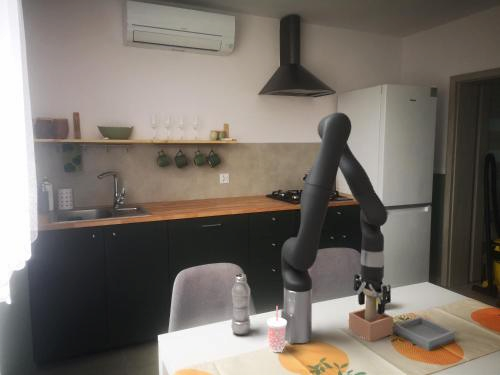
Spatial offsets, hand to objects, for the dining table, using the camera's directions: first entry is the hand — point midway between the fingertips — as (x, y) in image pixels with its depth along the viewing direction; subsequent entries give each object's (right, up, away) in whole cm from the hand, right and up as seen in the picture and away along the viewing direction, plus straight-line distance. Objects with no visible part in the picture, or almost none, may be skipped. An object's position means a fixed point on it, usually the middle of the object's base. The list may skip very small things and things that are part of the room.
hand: (370, 309), depth 126 cm
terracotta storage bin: (0, -8, +1) cm, 8 cm away
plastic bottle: (-44, -9, +1) cm, 45 cm away
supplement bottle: (+9, -6, +20) cm, 23 cm away
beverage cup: (-33, -10, -10) cm, 36 cm away
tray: (+17, -8, -3) cm, 19 cm away
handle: (0, -8, +1) cm, 8 cm away
